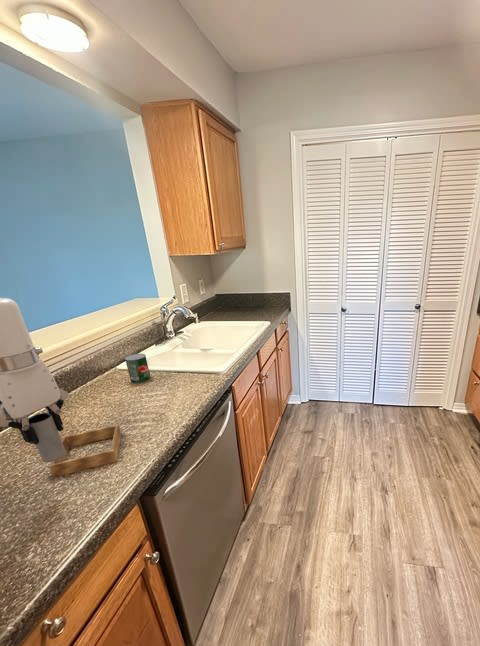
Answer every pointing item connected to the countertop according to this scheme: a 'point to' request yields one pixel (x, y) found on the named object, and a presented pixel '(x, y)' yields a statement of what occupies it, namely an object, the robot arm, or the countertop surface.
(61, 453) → the planter
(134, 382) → the canned tomato
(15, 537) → the countertop surface
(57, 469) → the wooden square frame
